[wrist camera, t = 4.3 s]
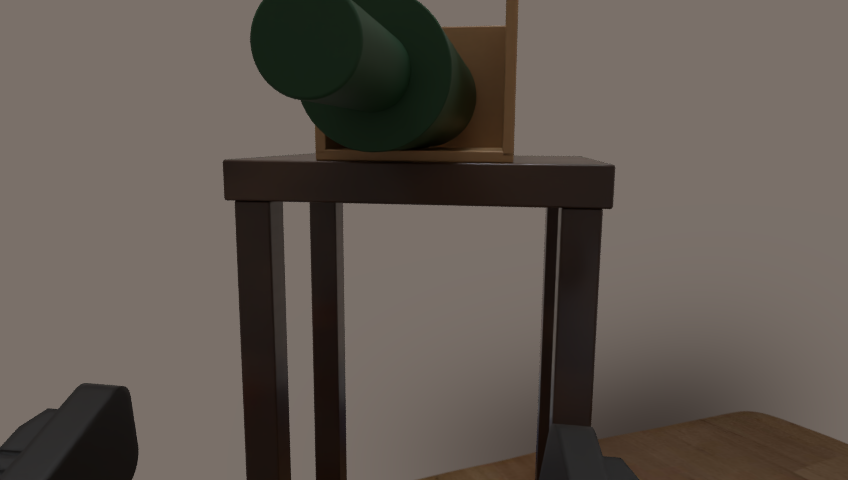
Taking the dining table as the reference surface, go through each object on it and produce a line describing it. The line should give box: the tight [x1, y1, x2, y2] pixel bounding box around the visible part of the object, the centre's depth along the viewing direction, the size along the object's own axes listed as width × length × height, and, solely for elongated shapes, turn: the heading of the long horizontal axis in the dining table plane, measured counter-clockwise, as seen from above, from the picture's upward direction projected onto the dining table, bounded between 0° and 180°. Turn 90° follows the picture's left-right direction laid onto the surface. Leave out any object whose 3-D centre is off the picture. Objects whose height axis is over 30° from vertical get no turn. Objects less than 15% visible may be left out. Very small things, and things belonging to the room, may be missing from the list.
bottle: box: [250, 0, 476, 152], centre depth 21 cm, size 5×18×5 cm, turn 172°
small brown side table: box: [223, 154, 615, 480], centre depth 29 cm, size 14×10×28 cm
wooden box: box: [315, 0, 518, 163], centre depth 26 cm, size 7×10×6 cm
